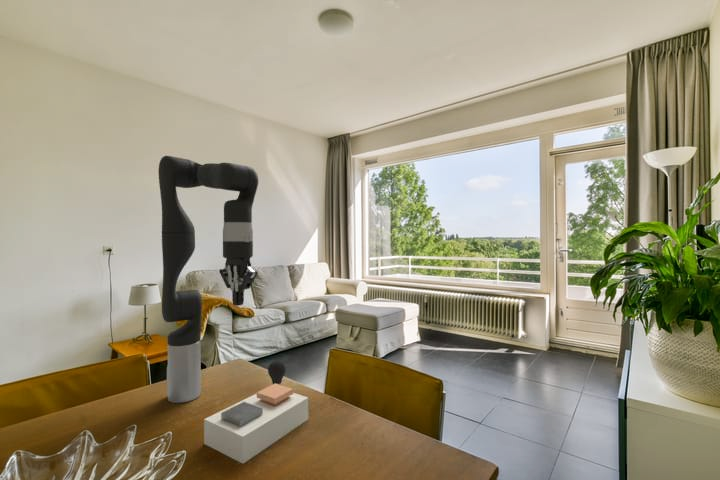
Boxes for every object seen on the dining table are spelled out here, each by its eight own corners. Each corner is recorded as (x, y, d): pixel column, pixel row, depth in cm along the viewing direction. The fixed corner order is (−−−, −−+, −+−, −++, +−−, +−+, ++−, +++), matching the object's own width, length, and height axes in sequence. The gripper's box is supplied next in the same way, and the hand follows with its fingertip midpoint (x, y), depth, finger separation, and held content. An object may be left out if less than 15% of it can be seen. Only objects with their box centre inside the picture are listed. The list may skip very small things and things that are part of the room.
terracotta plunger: (256, 416, 93) (256, 392, 93) (275, 405, 99) (275, 383, 99) (275, 423, 89) (274, 398, 89) (293, 412, 95) (293, 388, 95)
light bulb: (281, 396, 109) (281, 364, 109) (264, 394, 110) (264, 363, 110) (288, 388, 114) (288, 358, 114) (272, 387, 116) (272, 357, 115)
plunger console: (204, 443, 84) (204, 419, 84) (271, 406, 102) (271, 386, 102) (243, 463, 76) (242, 436, 76) (308, 419, 95) (308, 397, 95)
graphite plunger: (221, 439, 83) (221, 413, 83) (244, 426, 89) (244, 401, 89) (239, 448, 80) (239, 420, 80) (262, 434, 86) (262, 408, 86)
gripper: (209, 239, 92) (210, 304, 92) (243, 240, 85) (243, 310, 85) (233, 239, 98) (233, 300, 99) (266, 239, 92) (266, 305, 92)
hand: (238, 304), depth 92 cm, fingers closed
